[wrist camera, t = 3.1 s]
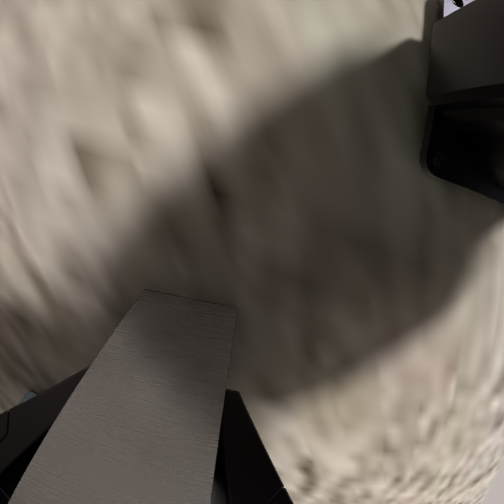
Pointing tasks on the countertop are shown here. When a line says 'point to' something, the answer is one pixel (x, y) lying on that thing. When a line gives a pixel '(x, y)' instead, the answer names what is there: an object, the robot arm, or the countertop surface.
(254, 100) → the countertop surface
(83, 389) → the square peg
